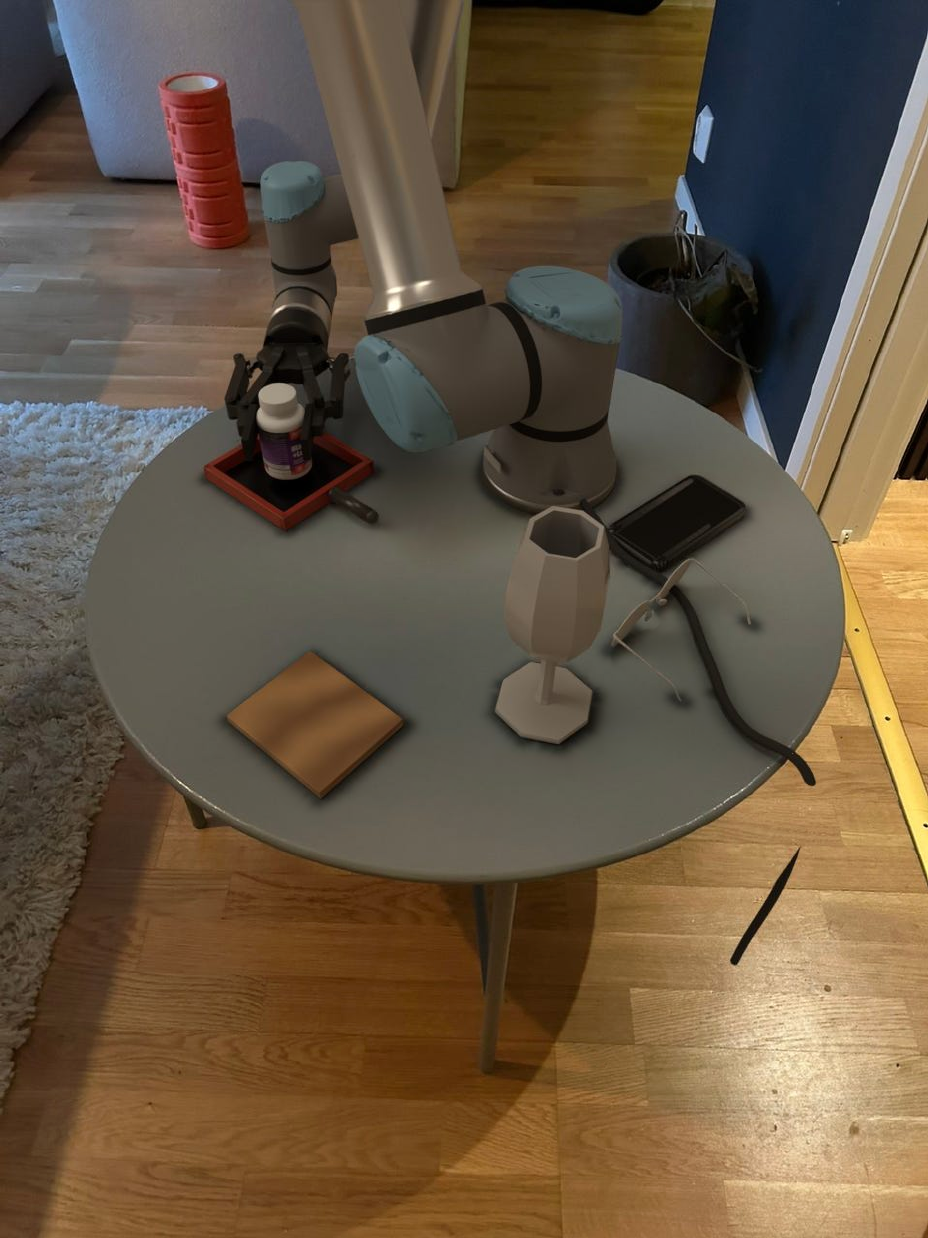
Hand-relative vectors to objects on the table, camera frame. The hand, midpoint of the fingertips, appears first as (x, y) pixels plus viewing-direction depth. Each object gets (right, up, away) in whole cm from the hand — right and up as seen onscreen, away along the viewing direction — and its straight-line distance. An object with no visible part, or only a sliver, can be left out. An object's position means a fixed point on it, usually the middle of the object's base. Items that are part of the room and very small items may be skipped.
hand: (276, 450), depth 95 cm
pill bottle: (0, 0, +8) cm, 8 cm away
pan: (+2, -3, +8) cm, 8 cm away
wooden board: (+7, -27, -14) cm, 31 cm away
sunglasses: (+41, -20, -7) cm, 46 cm away
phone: (+43, -8, +4) cm, 44 cm away
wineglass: (+27, -26, -13) cm, 39 cm away
